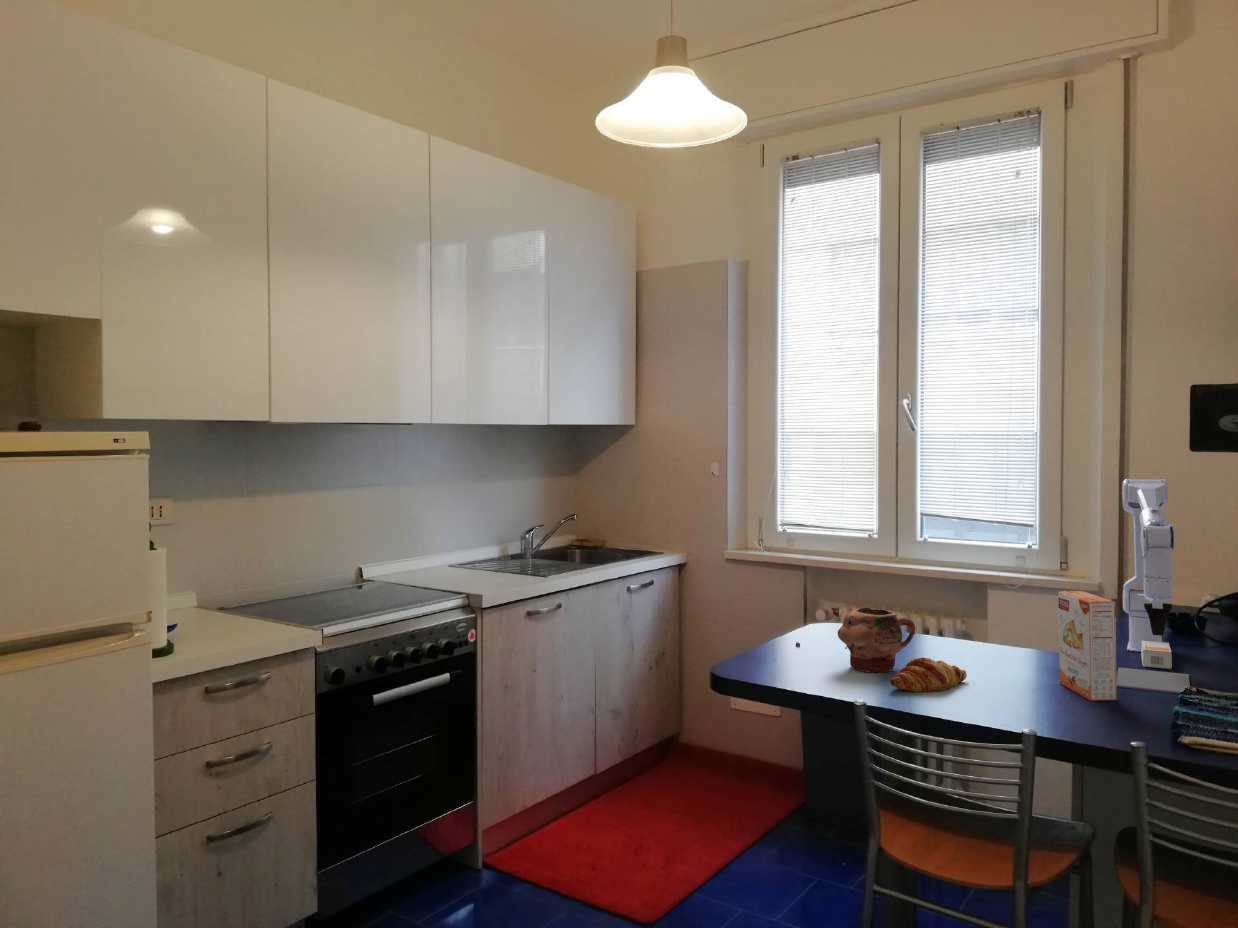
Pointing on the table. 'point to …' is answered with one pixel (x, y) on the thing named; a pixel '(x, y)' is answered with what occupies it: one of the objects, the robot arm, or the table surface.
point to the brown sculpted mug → (874, 638)
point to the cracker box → (1087, 645)
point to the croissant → (927, 676)
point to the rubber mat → (1152, 680)
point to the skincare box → (1156, 654)
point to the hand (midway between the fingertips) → (1157, 634)
